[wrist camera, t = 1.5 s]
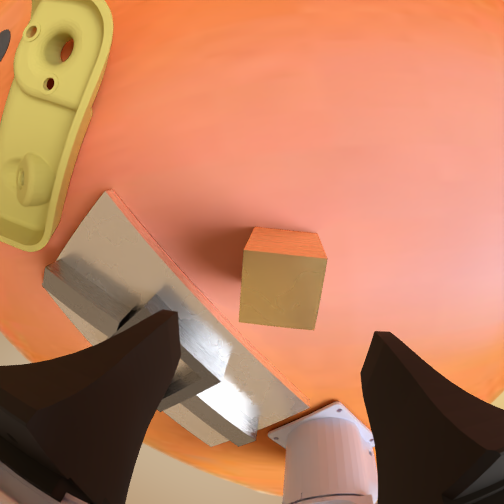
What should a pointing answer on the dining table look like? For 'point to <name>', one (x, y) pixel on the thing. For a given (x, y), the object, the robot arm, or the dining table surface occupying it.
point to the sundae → (4, 42)
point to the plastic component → (49, 115)
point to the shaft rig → (190, 326)
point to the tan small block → (282, 278)
